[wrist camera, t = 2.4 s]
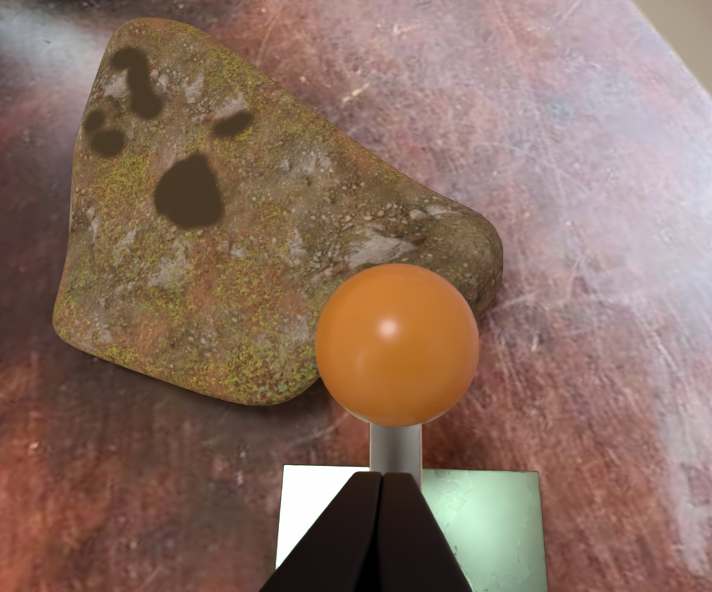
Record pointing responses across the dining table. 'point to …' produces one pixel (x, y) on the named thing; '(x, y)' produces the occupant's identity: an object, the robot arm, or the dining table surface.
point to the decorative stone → (233, 221)
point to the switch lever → (397, 356)
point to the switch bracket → (444, 519)
